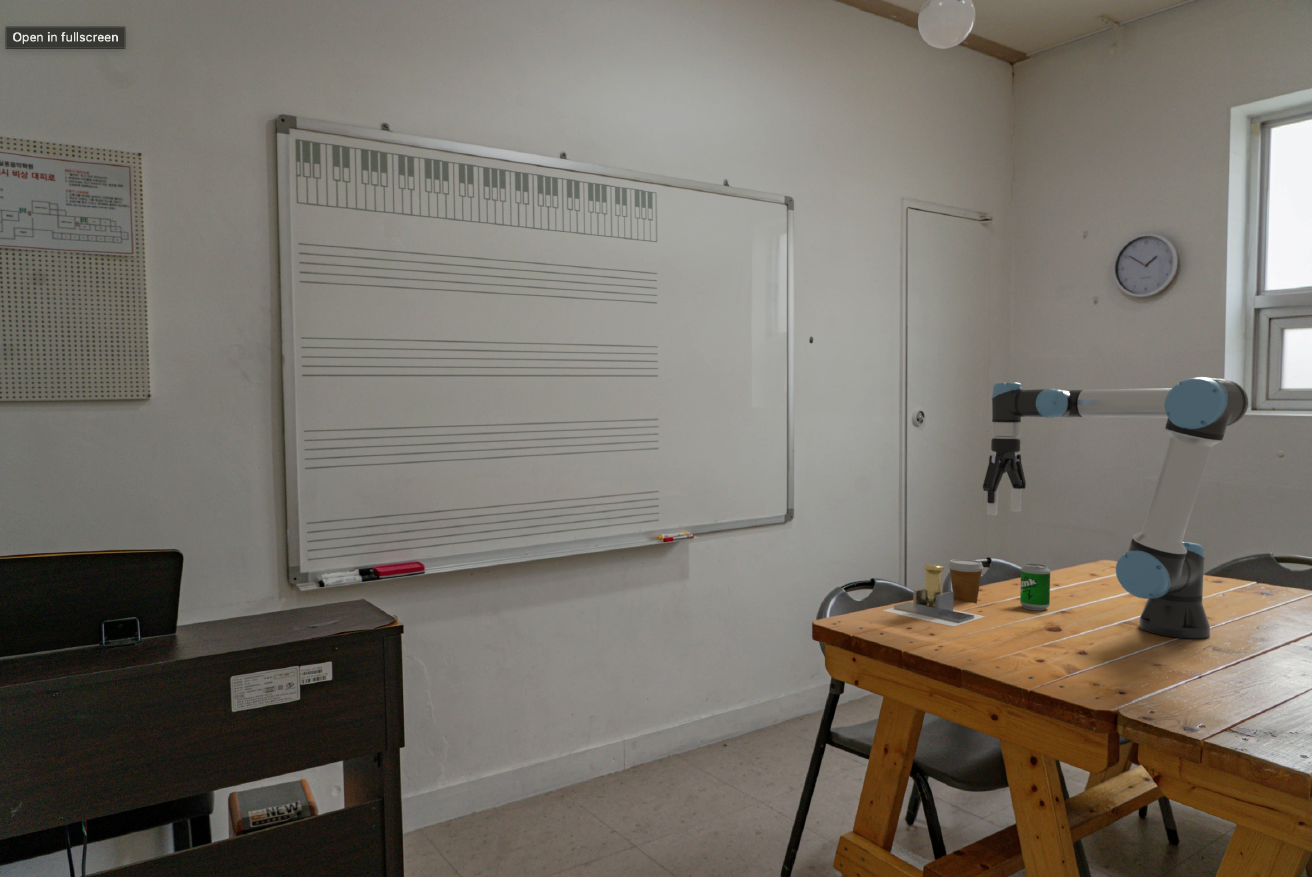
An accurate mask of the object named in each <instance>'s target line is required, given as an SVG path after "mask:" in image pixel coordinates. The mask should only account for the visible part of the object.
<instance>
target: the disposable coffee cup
mask: <svg viewBox="0 0 1312 877" xmlns="http://www.w3.org/2000/svg"><path fill="white" fill-rule="evenodd" d="M947 566H948V568H949V573H950V580H951V581H950V582H951V591H953V592H954V596H953V600H956V601H959V602H966V603H970V604H971V603H972V604H977V603H978V598H979V591H980V584H981V578H982V573H983V572H982V571H983V569H984V566H983V563H982V562H981V561H980V560H976V559H975V560H974V559H966V558H965V559H964V558H956V559H950V561H949V563H948V565H947Z"/></svg>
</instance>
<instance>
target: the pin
mask: <svg viewBox="0 0 1312 877" xmlns="http://www.w3.org/2000/svg"><path fill="white" fill-rule="evenodd" d="M944 568H945V567H944V565H941V564H935V563H927V564H926V563H925V564H923V569H924V570H925V588H926V592H925V605H926V606H931V607H936V595H938V594H942V571H944Z"/></svg>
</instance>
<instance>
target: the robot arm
mask: <svg viewBox="0 0 1312 877" xmlns="http://www.w3.org/2000/svg"><path fill="white" fill-rule="evenodd" d="M991 405H992V406H991V410H992V412H991V417H992V418H991V426H990V428H991V436H992V438H991V439H990V440H991V441H990V443H991V444H990V446H991V447H990V449H991V451H992V452H994V453H995V455H989V458H988V466H987V469H986V472H985V477H984V480H983V484H982V489H983V491H984V492H987V494H986V495H987V497H986V498H987V499H986V515H987V516H988V515H989V516H995V517H996V516H998V515H999V514H998V513H999V512H998V511H999V491H997V490H998V488H999V485H1000V482H1001V480H1002V478H1003V476H1004V474H1005V473H1007V476H1008V479H1009V481H1010V483H1011V486H1012V487H1011V488H1010V512H1017V513H1018V512H1019V513H1021V512H1022V489H1023V490H1025V489H1026V486H1027V482H1026V477H1025V473H1024V468H1023V463H1022V455H1021V454H1019V453H1020V451H1021V439H1020V437H1021V435H1022V429H1021V428H1022V423H1021V422H1022V418H1026V417H1028V418H1031V417H1033V418H1046V419H1047V418H1050V419H1051V418H1115V419H1116V418H1121V419H1122V418H1125V419H1128V418H1129V419H1134V418H1135V419H1166V424H1165V427H1164V430H1165V431H1166V434H1168V436H1169V440H1168V444H1167V447H1166V450H1165V453H1164V457H1163V460H1162V463H1161V467H1160V470H1159V473H1158V476H1157V480H1156V482H1155V487H1154V490H1153V493H1152V496H1151V499H1150V503H1149V506H1148V509H1147V513H1146V517H1145V520H1144V523H1143V525H1142V529H1141V531H1140V532H1137V533H1135V534H1133V535H1132V539H1131V541H1130V545H1129V547H1128V550H1127V552H1125V553H1123V554H1122V555H1121V556H1120V557H1119V559H1118V560H1117V562H1116V564H1115V565H1116V566H1115V575H1116V578H1117V581H1118V582H1119V584H1120V585H1121V587H1122V588H1123V589H1124V590H1125V591H1126V592H1127V593H1129V594H1130V595H1132V596H1134V597H1135V598H1136V597H1137V598H1139V599H1145V600H1146V602H1145V605H1144V608H1143V610H1142V612H1141V615H1140V617H1139V628H1140V629H1142V630H1144V631H1146V632H1149V633H1151V634H1155V635H1160V636H1165V637H1170V638H1171V637H1172V638H1180V639H1195V640H1196V639H1204V638H1209V636H1210V635H1211V626H1210V623H1209V620H1208V616H1207V614H1206V611H1205V608H1204V604H1203V592H1204V591H1203V590H1204V568H1205V564H1204V563H1205V559H1206V558H1205V553H1204V547H1203V546H1202V544H1200V543H1195V542H1188V541H1184V537H1185V534H1186V531H1187V528H1188V524H1189V521H1190V518H1191V515H1192V512H1193V508H1194V506H1195V503H1196V500H1197V497H1198V496H1197V495H1198V493H1199V490H1200V487H1201V483H1202V480H1203V477H1204V474H1205V471H1206V467H1207V464H1208V462H1209V458H1210V455H1211V451H1212V448H1213V447H1214V446H1215V445H1217V444H1219V443H1221V442H1223V439H1224V437H1225V434H1226V430H1227V427H1230V426H1232V425H1234V424H1236V423H1237V422H1239V421H1240V420H1241V419H1242V418H1243V417H1244V415H1246V412H1247V411H1248V408H1249V398H1248V394H1247V392H1246V391H1245V389H1244V388H1243V387H1242V386H1241V384H1239V383H1237V382H1235V381H1233V380H1230V379H1227V378H1214V377H1206V376H1197V377H1196V376H1195V377H1191V378H1187V379H1183V380H1181V381H1180V382H1177V383H1176V384H1175V385H1174V386H1173V387H1172V388H1171V387H1170V388H1168V387H1167V388H1123V389H1117V388H1116V389H1115V388H1113V389H1112V388H1111V389H1109V388H1108V389H1057V388H1056V389H1055V388H1043V389H1042V388H1035V389H1034V388H1033V389H1023V388H1022V383H1020V382H996V383H994V384H993V386H992V397H991Z"/></svg>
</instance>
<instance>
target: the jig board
mask: <svg viewBox="0 0 1312 877" xmlns="http://www.w3.org/2000/svg"><path fill="white" fill-rule="evenodd" d="M953 611H955V612H960V613H965V614H970V615H974V619H971V620H968V621H964V622H961V623H958V622H953V621H948V620H944V619H939V618H934V617H930V616H925V615H920V614H916V613H912V612H907V611H902V610H898V609H894V607H891V608H887V609H883V610H882V612H886V613H890V614H895V615H900V616H905V617H908V618H913V619H916V620H917V619H918V620H922V621H927V622H930V623H934V624H940V625H944V626H949V627H954V628H955V627H957V626H960V625H964V624H966V623H969V622H972V621H976V620H979V619H982V618H985V617H986V615H985V616H984V615H980V614H975V613H970V612H966V611H960V610H957V609H953Z"/></svg>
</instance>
